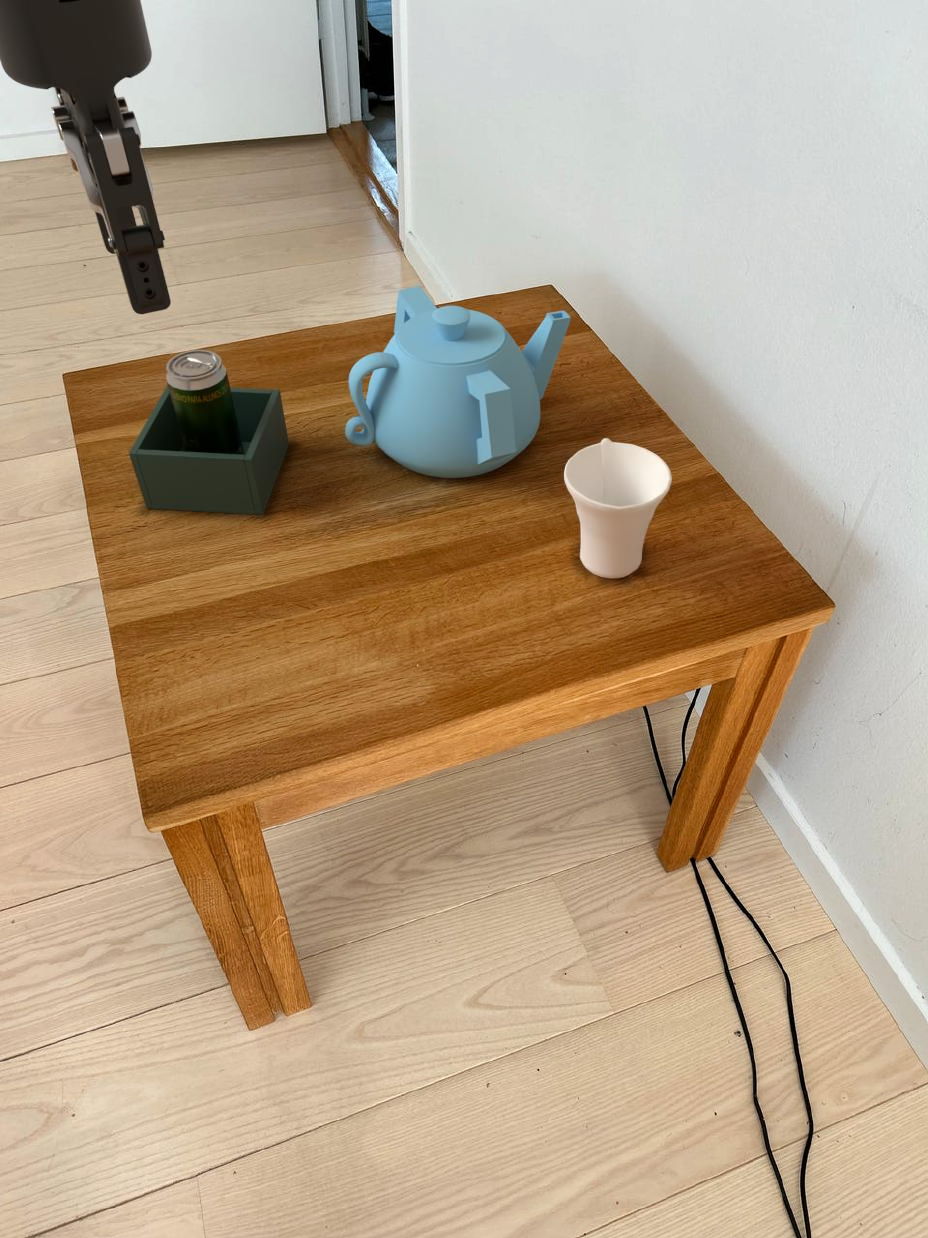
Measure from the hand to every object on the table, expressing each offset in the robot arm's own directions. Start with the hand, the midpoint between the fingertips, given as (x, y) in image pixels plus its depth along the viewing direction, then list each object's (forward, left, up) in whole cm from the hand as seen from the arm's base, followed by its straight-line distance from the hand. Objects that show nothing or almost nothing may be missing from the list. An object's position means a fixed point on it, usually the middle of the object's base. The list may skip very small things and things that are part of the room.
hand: (137, 278), depth 57 cm
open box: (-6, +19, -30) cm, 36 cm away
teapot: (+17, +28, -30) cm, 45 cm away
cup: (+32, +10, -30) cm, 45 cm away
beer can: (-6, +19, -30) cm, 36 cm away
